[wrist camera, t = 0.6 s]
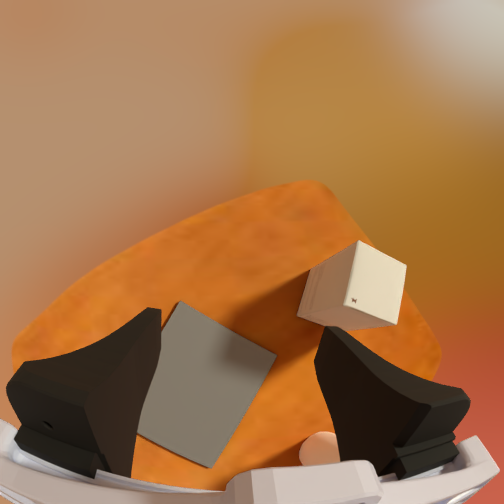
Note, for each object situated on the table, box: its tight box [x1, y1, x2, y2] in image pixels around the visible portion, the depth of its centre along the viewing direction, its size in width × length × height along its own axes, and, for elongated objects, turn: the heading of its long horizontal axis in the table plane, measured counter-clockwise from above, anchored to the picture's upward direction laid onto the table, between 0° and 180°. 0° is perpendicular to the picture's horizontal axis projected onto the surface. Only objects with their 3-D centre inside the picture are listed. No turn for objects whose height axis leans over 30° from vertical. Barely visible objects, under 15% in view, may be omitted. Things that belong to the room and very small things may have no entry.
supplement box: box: [297, 240, 406, 331], centre depth 34 cm, size 7×7×13 cm
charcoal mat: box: [137, 301, 277, 469], centre depth 33 cm, size 18×14×1 cm
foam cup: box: [299, 432, 340, 466], centre depth 27 cm, size 10×9×13 cm
